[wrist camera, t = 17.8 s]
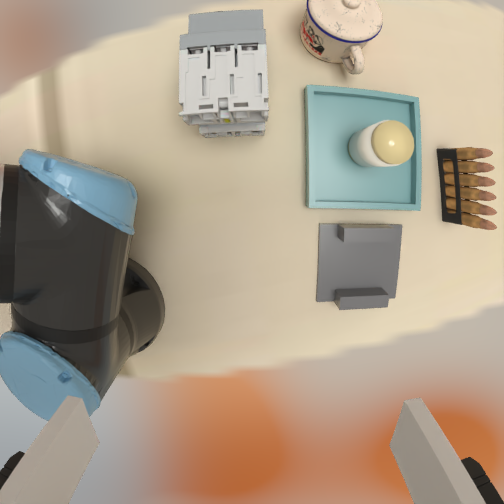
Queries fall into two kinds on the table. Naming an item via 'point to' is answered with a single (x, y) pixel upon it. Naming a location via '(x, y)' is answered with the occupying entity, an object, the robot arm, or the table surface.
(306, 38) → the teacup with lid
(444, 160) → the ammunition clip
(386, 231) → the grey square holder base
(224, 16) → the circuit breaker
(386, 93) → the parts tray
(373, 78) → the table surface
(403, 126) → the cylinder
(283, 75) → the table surface
